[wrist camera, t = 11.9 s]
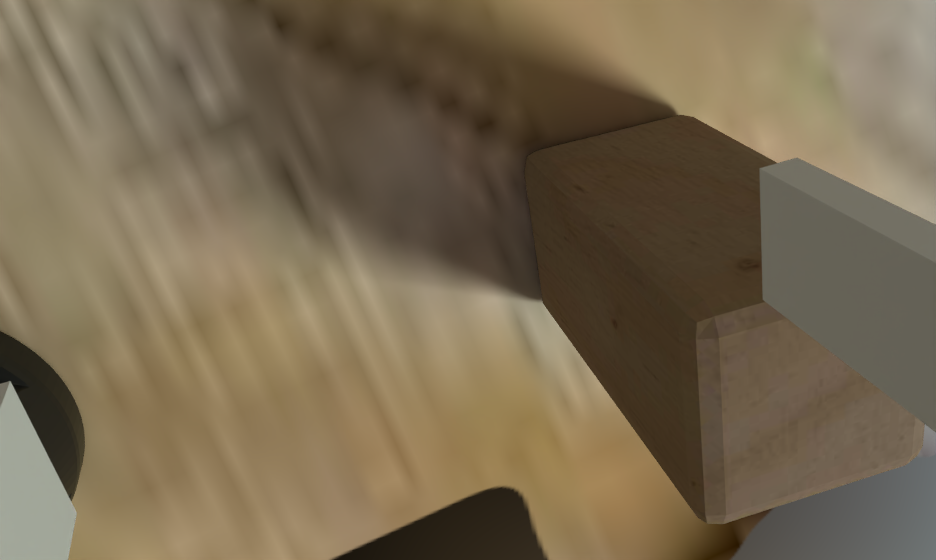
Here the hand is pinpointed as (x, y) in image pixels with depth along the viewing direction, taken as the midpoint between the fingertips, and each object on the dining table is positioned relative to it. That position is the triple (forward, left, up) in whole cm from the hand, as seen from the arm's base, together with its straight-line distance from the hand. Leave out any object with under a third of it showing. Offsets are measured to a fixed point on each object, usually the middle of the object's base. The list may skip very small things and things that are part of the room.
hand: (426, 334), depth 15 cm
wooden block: (+15, -12, -30) cm, 36 cm away
